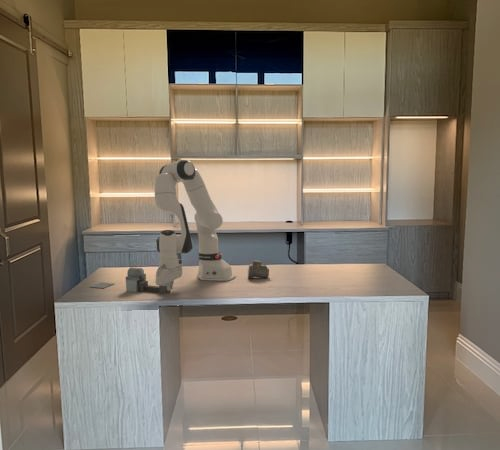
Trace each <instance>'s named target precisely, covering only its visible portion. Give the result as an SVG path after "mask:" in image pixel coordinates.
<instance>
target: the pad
mask: <svg viewBox="0 0 500 450" xmlns="http://www.w3.org/2000/svg"><path fill="white" fill-rule="evenodd" d="M114 285H115V283H112V282H99V283H95V284H93V285H90V286H89V288H95V289H102V290H103V289H107V288H109V287H111V286H114Z"/></svg>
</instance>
